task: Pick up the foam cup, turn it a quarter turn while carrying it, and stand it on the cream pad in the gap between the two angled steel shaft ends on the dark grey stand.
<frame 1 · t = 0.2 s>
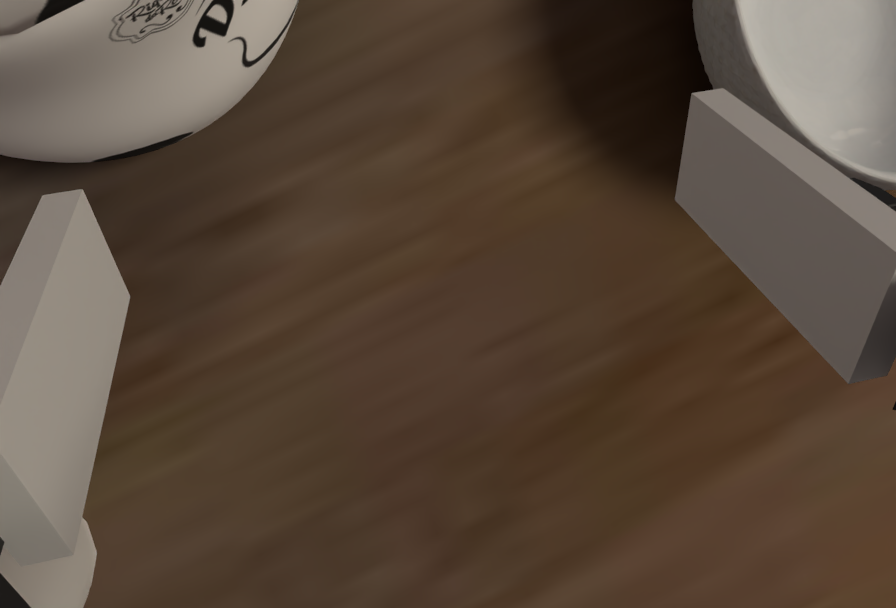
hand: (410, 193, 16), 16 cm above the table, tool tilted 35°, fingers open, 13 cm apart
cereal bowl: (806, 29, 34), on the table
foam cup: (16, 559, 29), on the table
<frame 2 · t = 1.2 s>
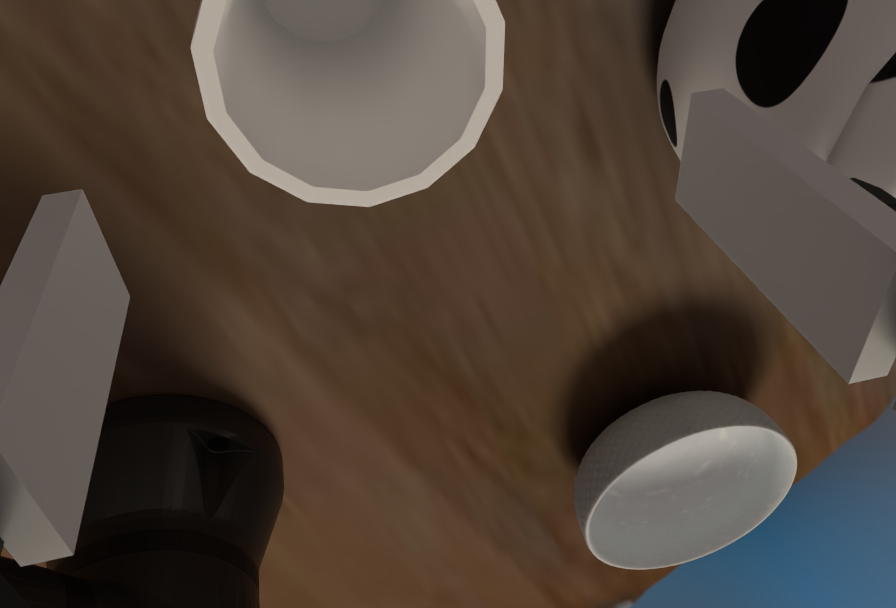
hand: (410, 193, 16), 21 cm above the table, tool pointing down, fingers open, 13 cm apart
milk container: (780, 28, 38), on the table
cereal bowl: (649, 433, 58), on the table
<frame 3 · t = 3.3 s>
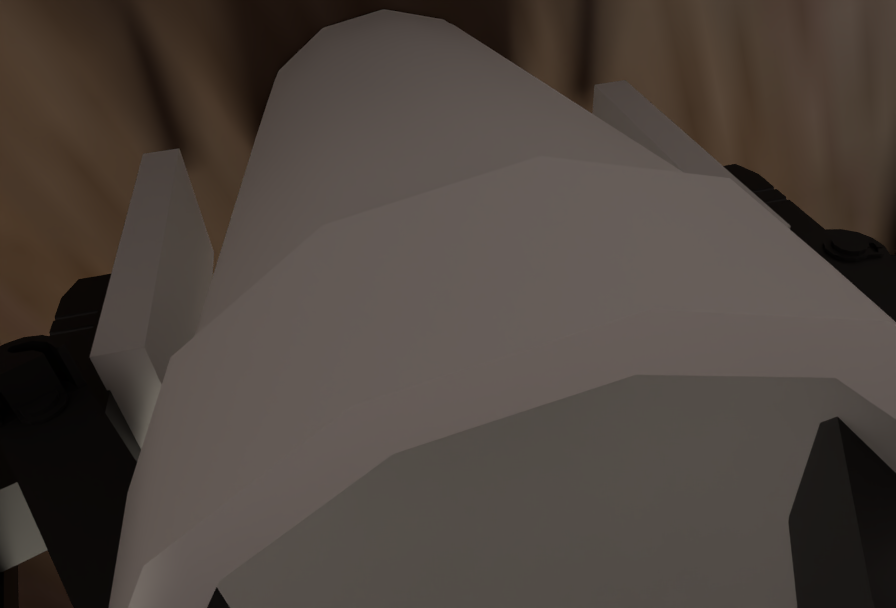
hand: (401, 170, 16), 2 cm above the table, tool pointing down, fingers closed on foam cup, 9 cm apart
foam cup: (389, 138, 18), on the table, touching gripper
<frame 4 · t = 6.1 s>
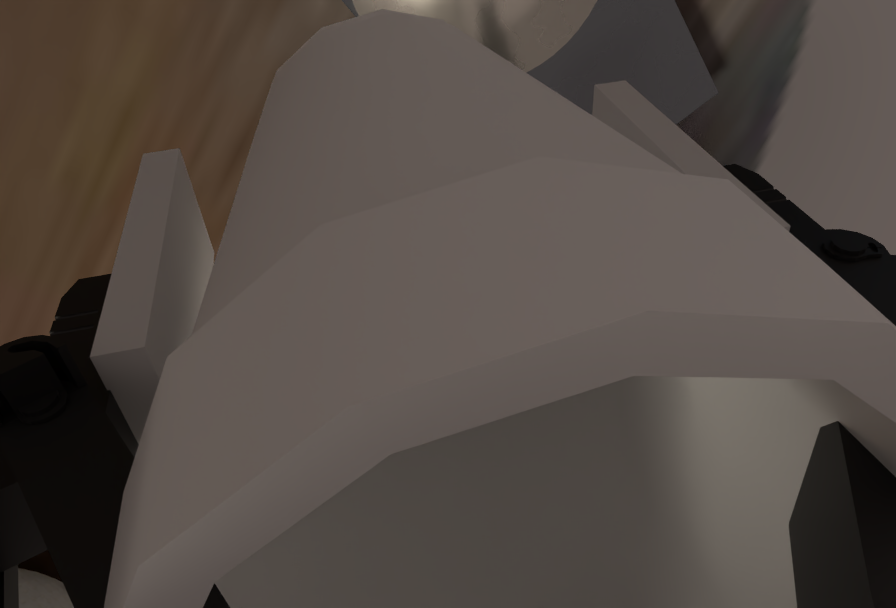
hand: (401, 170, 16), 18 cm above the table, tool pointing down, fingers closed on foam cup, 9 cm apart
foam cup: (388, 138, 18), point 17 cm above the table, touching gripper
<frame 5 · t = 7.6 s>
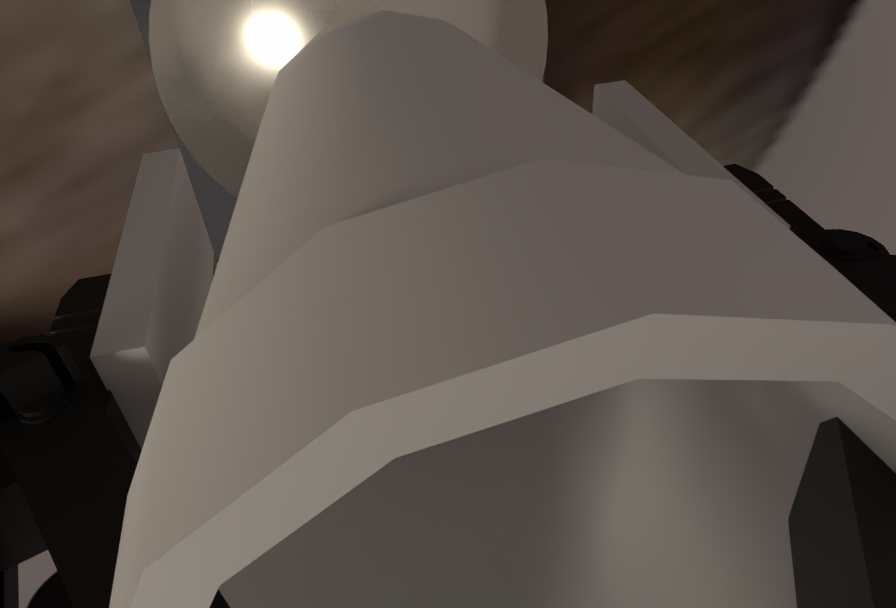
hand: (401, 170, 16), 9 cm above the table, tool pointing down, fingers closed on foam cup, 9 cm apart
shaft stand: (353, 46, 23), on the table
foam cup: (389, 138, 18), point 7 cm above the table, touching gripper
when the fingers open (5 cm above the table, at t = 8.9 s): foam cup drops 1 cm, resting on shaft stand.
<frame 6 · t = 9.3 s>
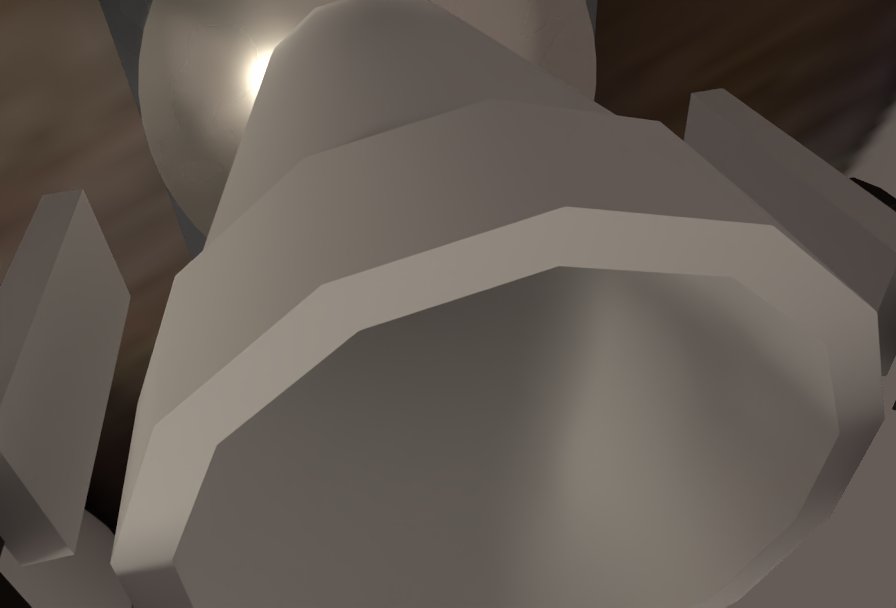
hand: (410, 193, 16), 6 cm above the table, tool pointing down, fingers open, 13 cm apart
shaft stand: (373, 92, 20), on the table
foam cup: (379, 113, 19), point 2 cm above the table, touching shaft stand
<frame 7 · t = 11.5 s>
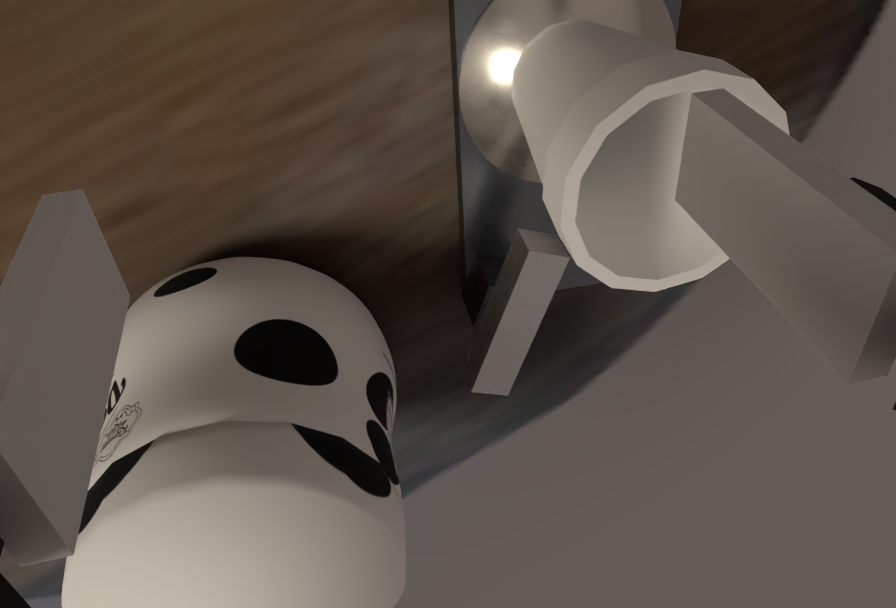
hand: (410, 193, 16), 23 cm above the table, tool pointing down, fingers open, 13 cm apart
milk container: (255, 345, 47), on the table
shaft stand: (558, 70, 39), on the table
foam cup: (567, 79, 38), point 2 cm above the table, touching shaft stand
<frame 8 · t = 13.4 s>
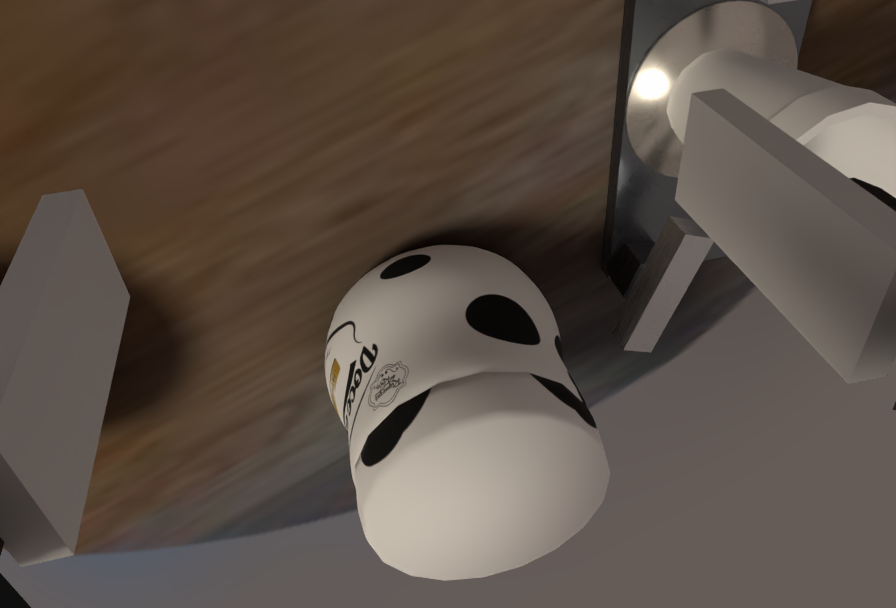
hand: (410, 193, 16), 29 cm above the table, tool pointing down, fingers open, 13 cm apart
milk container: (430, 318, 56), on the table
shaft stand: (699, 86, 48), on the table
foam cup: (710, 94, 47), point 2 cm above the table, touching shaft stand
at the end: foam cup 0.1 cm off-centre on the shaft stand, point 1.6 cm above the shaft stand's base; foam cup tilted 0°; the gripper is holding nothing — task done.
